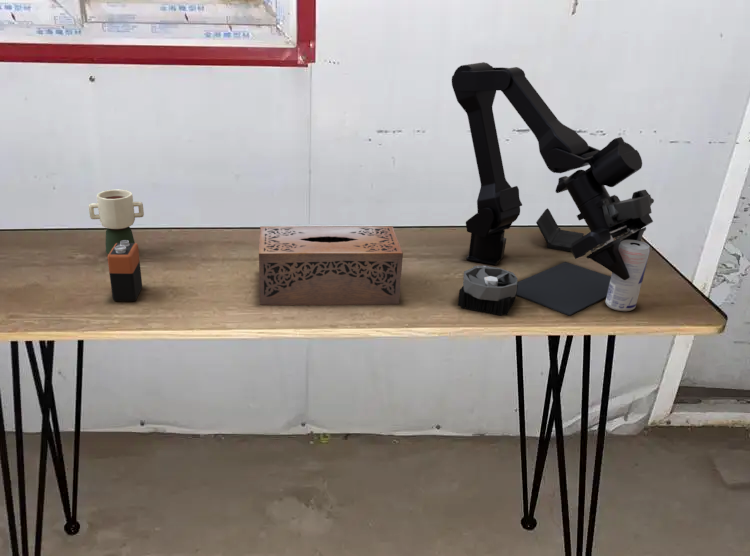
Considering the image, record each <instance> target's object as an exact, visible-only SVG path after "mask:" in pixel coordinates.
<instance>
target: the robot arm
mask: <svg viewBox="0 0 750 556" xmlns="http://www.w3.org/2000/svg"><path fill="white" fill-rule="evenodd" d="M451 88H452V90H453V92H454V96H455V98H456V101H457V103H458V104H459V106H460V107H461V108H462V109H463V111H464V113H466V114H467V115H466V116H467V120H468V125H469V130H470V135H471V136H470V137H471V141H472V144H473V152H474V156H475V161H476V166H477V171H478V176H479V182H480V188H479V192H478V196H477V200H476V208H477V209H476V210H477V213H475V214H474V215H472V216H471V217H470V218H468V219H467V220H466V221H465V227H466V232H467V233H470V240H469V249H468V255H467V256H466V257H465V260H466V261H470V262H475V263H481V264H487V265H490V266H491V265H492V266H496V265H498V263H499V262H500V261H502V259H503V258H504V256H505V252H506V251H505V250H506V244H507V237H505V232H506V230H509V229H511V227H512V224H513V223H515V222H516V221H517V220H518V218H519V216H520V214H521V207H522V206H523V203H522V201H521V198H520V189H519V187H518V185H514V186H511V185H510V184H509V182H508V181H507V178H506V175H505V170H504V163H503V158H502V154H501V148H500V143H499V138H498V137H499V136H498V132H497V126H496V120H495V115H494V111H493V106H494V102H495V98H496V94H497V91H500V92H502V94H503V95H504V96H505V98H506V99H507V100H508V102H509V103H510V104H511V106H512V108H514V110H515V111H516V113H517V114H518V115H519V116H520V118H521V119H522V120H523V122H524V123H525V125H526V126H527V127H528V129H529V130H530V131H531V132H532V134H533V135H534V137H535V139H536V141H537V142H538V150H539V154H540V157H541V158H542V160H543V162H544V164H545V166H546V168H547V169H548V170H549V171H550V172H552V173H553V174H563V173H567V172H570V171H574V170H575V171H574V172H573V173H572V174H570V175H569V176H567V175H563V176H561V177H559V178H558V182H557V185H556V187H555V193H556V194H560V193H562V192H566V191H568V193H569V195H570V197H571V199H572V201H573V203H574V204H575V206H576V209H578V211H579V214H577V215H576V218H577V219H578V221H582V220H584V222H585V223H586V225H587V228H588V229H589V232H588V233H586V234H584V235H583V237H581V238H580V239H578V240H576V241H575V242H573V243H572V246H571V252H570V253H572V255H573V258H574V259H575V260H577V259H579V258H581V257H584V256H586V254H587V253H588V252H591V253H590V254H588V255H587V256H586V259H587V260H589V259H590V260H592V261H594V262H595V263H597V264H599V265H600V266H601V267H604V268H605V269H607V270H608V271H609V272H611V273H612V272H613V273H614V274H616V275H617V276H619V277H620V278H621V279H623V280H627V279H629V278H630V276H629V273H628V270H627V268H626V266H625V264H624V261H623V259H622V257H621V255H620V252H619V245H620V242H621V241H623V240H637V241H642V238H643V235H644V233H645V232H646V230H647V226H649V225H650V224H652V223H653V222H654V221H653V218H652V217H651V215H650V214H652V208H651V206H652V205H653V204H654V203H655V199H654V198H652V196H651V194H649V192H648V191H647V190H646V189H641V190H637V191H634V192H633V193H632V196H631V198H627V199H623V200H620V198H619V196H618V195H616V194H613V195H610V193H609V191H608V190H607V188H614V187H616V186H617V185H619V184H620V183H622V182H623V181H625V180H626V179H628V178H629V177H631V176H632V175H634V174H635V173H637V172H638V171H640V170H641V169H642V167H643V159H642V156H641V154H640V152H639V150H638V149H635V148H634V146H632V145H631V144H630V143H628V142H626V141H625V140H624V138H623V137H622V136H619V137H615V138H613V139H612V140H610V141H609V142H608V144H607V145H606V146H605V147H603V148H602V149H599V148H595V147H593V146H591V145H589V144H588V142H587V141H586V140H585V138H583V137H582V136H581V135H580V134H579V133H577V132H576V130H574V129H573V128H570V127H569V126H567V125H565V124H564V123H562V122H561V121H560V120H559V119H558V118H557V117H556V115H555V114H554V112H553V111H552V110H551V109H550V107H549V106H548V105H547V103H546V102H545V100H544V99H543V98H542V96H541V95H540V93H539V92H538V91H537V90H536V89H535V88H534V86H533V85H532V83H531V82H530V81H529V80H528V78H527V77H526V73H525V71H524V70H523V69H522V68H520V67H518V66H514V67H494V66H492V65H490V64H489V63H488V62H484V61H483V62H482V61H481V62H476V63H468V64H462V65H460V66H458V67H457V68H456V69H455V71H454V73H453V74H452V76H451ZM587 166H590V167H588V168H587V169H581V168H583V167H587ZM605 186H606V187H607V188H606V187H605Z"/></svg>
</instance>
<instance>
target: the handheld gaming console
mask: <svg viewBox="0 0 750 556" xmlns="http://www.w3.org/2000/svg"><path fill="white" fill-rule="evenodd" d="M535 223H536V225H537V227H538V229H539V231H540V233H541V234H542V236H543V238H544V240H545V242H546V243H547V246H546V248H547V249H553V250H559V251H564V252H570V253H572V252H571V246H572V243H573V242H575V241H576V240H578V239H580V238H581V237H583V236H585V234H584V233H583V232H578V231H572V230H565V229H561V227H559V225H558V223H557V222H556V220H555V217H554V216H553V214H552V213H551V211H550V209H549V208H548V207H547V208H546V209H544V211H543V212H542V213H541V215H540V217H538V219H537V220H536V221H535Z"/></svg>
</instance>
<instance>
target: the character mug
mask: <svg viewBox="0 0 750 556" xmlns="http://www.w3.org/2000/svg"><path fill="white" fill-rule="evenodd" d="M96 201H97V202H95V203H89V204H88V214H89V218H90V219H91V220H99V222H100V223H101V226H102V227H103V228H105V229H106V230H105V254H107V255H108V254H109V253H110V251H111V250H112V248H113V247H114V245H115V244H116V243H120V241H122V240H128V241H129V243H136V242H135V238H134V233H133V230H132V229H131V227H132V226H133V225H134V224H135V221H136V218H143V217H144V216H145V211H144V204H143V202H142V201H134V196H133V193H132V191H130V190H126V189H118V188H117V189H108V190H103V191H100V192H98V193H97V194H96ZM135 207H138V212H135ZM95 209H97V210H98V214H96V213H95Z"/></svg>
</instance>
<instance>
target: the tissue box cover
mask: <svg viewBox="0 0 750 556" xmlns="http://www.w3.org/2000/svg"><path fill="white" fill-rule="evenodd" d="M258 243H259V244H258V276H259V277H258V280H259V281H258V282H259V306H276V305H277V306H282V305H284V306H285V305H290V306H293V305H297V306H300V305H301V306H303V305H304V306H305V305H306V306H307V305H309V306H311V305H318V306H319V305H321V306H322V305H324V306H325V305H327V306H328V305H329V306H330V305H400V299H401V298H400V296H401V284H402V273H403V271H402V270H403V259H404V258H403V257H404V252H403V250H402V246H401V244H400V242H399V239H398V237H397V234H396V232H395V229H394V226H393V225H392V226H389V225H388V226H387V225H386V226H378V225H377V226H375V225H374V226H373V225H372V226H371V225H370V226H369V225H368V226H364V225H363V226H362V225H361V226H360V225H359V226H356V225H353V226H351V225H350V226H349V225H348V226H334V225H333V226H331V225H330V226H329V225H328V226H323V225H321V226H299V225H298V226H297V225H295V226H294V225H293V226H290V225H289V226H281V225H280V226H279V225H278V226H277V225H276V226H273V225H271V226H265V225H264V226H260V227H259V242H258Z"/></svg>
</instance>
